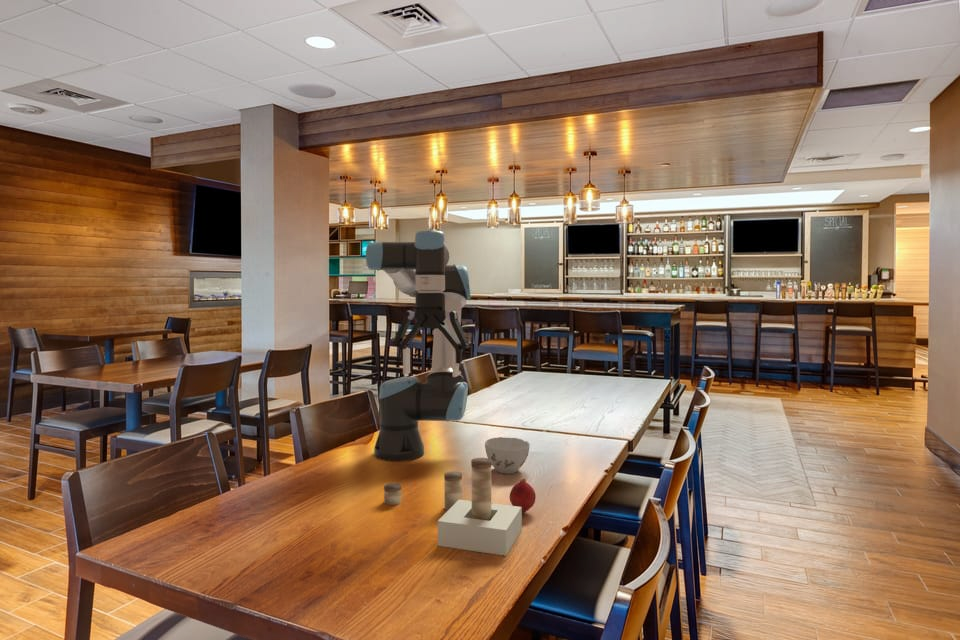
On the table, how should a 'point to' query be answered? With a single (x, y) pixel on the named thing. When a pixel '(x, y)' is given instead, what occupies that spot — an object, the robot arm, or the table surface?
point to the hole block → (480, 528)
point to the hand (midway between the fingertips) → (430, 375)
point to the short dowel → (392, 493)
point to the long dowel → (481, 488)
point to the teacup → (507, 453)
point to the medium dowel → (452, 488)
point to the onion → (522, 495)
